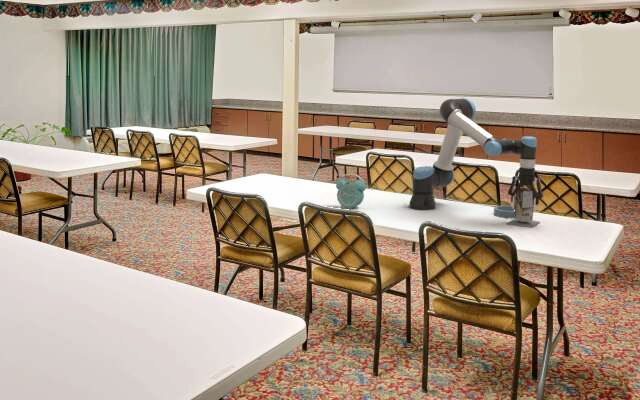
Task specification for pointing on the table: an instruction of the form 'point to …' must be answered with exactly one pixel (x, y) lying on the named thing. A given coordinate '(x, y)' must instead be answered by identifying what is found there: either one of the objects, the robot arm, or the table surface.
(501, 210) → the bowl
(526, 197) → the coffee box
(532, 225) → the mat
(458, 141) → the robot arm
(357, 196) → the alarm clock
